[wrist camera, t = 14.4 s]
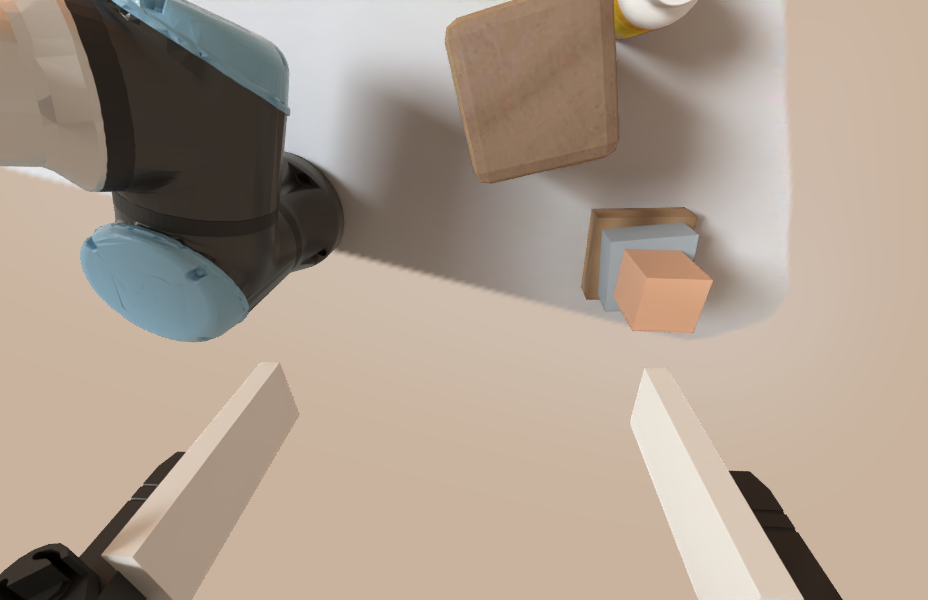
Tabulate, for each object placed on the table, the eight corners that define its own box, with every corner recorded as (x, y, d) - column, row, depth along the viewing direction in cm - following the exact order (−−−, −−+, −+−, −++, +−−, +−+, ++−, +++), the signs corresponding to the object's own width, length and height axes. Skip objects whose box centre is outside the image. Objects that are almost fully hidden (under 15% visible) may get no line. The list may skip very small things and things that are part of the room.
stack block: (613, 296, 44) (632, 330, 38) (624, 248, 41) (646, 278, 35) (665, 298, 44) (693, 333, 38) (680, 250, 41) (713, 280, 35)
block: (571, 124, 42) (623, 156, 25) (484, 145, 44) (476, 190, 27) (561, 16, 37) (617, -37, 20) (463, 45, 39) (438, 21, 22)
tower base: (580, 285, 53) (586, 299, 49) (590, 207, 47) (598, 218, 44) (662, 284, 52) (673, 299, 48) (682, 206, 46) (697, 216, 43)
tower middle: (597, 295, 49) (605, 311, 45) (602, 229, 44) (610, 242, 41) (671, 290, 48) (684, 306, 44) (683, 222, 43) (699, 234, 40)
